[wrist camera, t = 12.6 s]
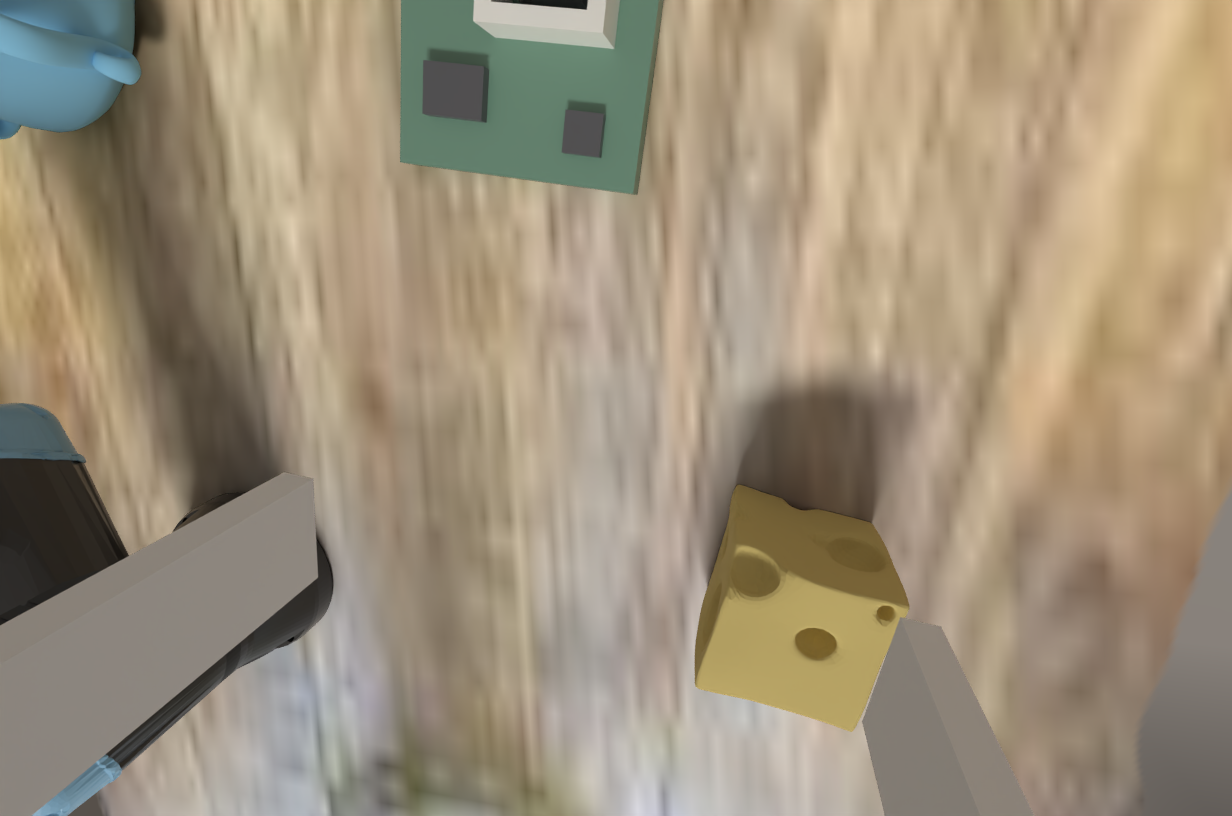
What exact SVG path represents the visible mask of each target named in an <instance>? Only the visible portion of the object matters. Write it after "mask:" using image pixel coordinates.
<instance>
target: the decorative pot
mask: <svg viewBox="0 0 1232 816" xmlns="http://www.w3.org/2000/svg"><path fill="white" fill-rule="evenodd" d="M134 4H135V0H0V139H7V138H10V137H12V136H13V135H15V134H16V133H17V132H18V130H19V129H20V127H21V125H23V126H26V127H30V128H35V129H41V130H47V131H53V132H68V131H75V130H78V129H80V128H83V127H85V126H87V125H89V124H91V123H92V122H94V121H96V120H97V119H98V118H100V117H101V116H102V115H103V114H104V113H106V112H107V111H108V110H109V108H110V107H111V106H112V104H113V103H114V102H115V100H116V98H117V96H118V94H119V93H120V91H121V88H122V86H123V84H124V83H125V84H129V85H132V84H135V83H136V82H137V81H138V80H139V78H140V76H141V68H140V65H139V62H138V61H137V59H136V58H135V56H133V55H132V53H133V47H134V35H135V9H134Z"/></svg>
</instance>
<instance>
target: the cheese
mask: <svg viewBox="0 0 1232 816" xmlns="http://www.w3.org/2000/svg"><path fill="white" fill-rule="evenodd" d="M908 610H909V603H908V599H907V596H906V593H905V590H904V588H903V585H902V583H901V581H900V579H899V576H898V574H897V572H896V570H895V568H894V565H893V563H892V560H891V558H890V555H889V553H888V550H887V548H886V546H885V544H884V542H883V541H882V539H881V537H880V535H879V534H878V532H877V530H876V529H875V527H874V525H873V524H872V523H870V522H867V521H863V520H859V519H856V518H852V517H848V516H844V515H840V514H836V513H832V512H828V511H823V510H819V509H813V510H806V511H804V510H799V509H796V508H793V507H791V506H790V505H788V504H787V503H786V501H785V500H783V499H782V498H779V497H776V496H773V495H770V494H766V493H763V492H760V491H758V490H755V489H752V488H749V487H746V486H743V485H739V484H738V485H737V486H736V488H735V489H734V492H733V495H732V498H731V503H730V512H729V519H728V523H727V527H726V530H725V533H724V537H723V540H722V543H721V547H720V550H719V553H718V557H717V560H716V563H715V566H714V570H713V573H712V576H711V579H710V582H709V585H708V588H707V591H706V594H705V597H704V600H703V604H702V608H701V613H700V619H699V625H698V631H697V637H696V645H695V686H696V687H697V688H698V689H701V690H706V691H710V692H714V693H718V694H723V695H728V696H733V697H738V698H742V699H747V700H751V701H755V702H758V703H762V704H765V705H769V706H772V707H776V708H779V709H783V710H786V711H790V712H793V713H796V714H800V715H803V716H806V717H809V718H812V719H816V720H819V721H822V722H825V723H828V724H831V725H834V726H836V727H839V728H842V729H844V730H847V731H850V732H852V731H853V730H854V729H855V727H856V725H857V723H858V721H859V719H860V717H861V715H862V713H863V711H864V708H865V706H866V703H867V701H868V698H869V695H870V693H871V690H872V687H873V685H874V682H875V679H876V677H877V674H878V672H879V669H880V667H881V664H882V662H883V659H884V657H885V655H886V653H887V651H888V649H889V647H890V644H891V641H892V639H893V636H894V633H895V630H896V627H897V625H898V622H899V619H900V617H902V618H905V617H906V615H907V613H908Z"/></svg>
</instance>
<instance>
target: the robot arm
mask: <svg viewBox="0 0 1232 816" xmlns="http://www.w3.org/2000/svg"><path fill="white" fill-rule="evenodd" d="M84 463H86V460H85V458H84V457H83V456H82V455H80V454H78V453H77V451H76V450H75V448H74V446H73V445H72V443H71V441H70V439H69V438H68V436H67V434H66V433H65V431H64V429H63V427H62V426H61V424H60V422H59V420H58V419H57V418H56V417H55V416H54V415H53V414H52V413H51V412H49V411H48V410H46V409H44V408H42V407H39V406H36V405H31V404H25V403H9V404H0V816H67V815H68V814H69V813H71V812H72V811H73V810H74V809H76V808H77V807H78V806H80V805H81V804H82V803H83V802H85V801H86V800H87V799H89V798H90V797H91V796H92V795H94V794H95V793H96V792H98V791H99V790H100V789H101V788H103V787H104V786H105V785H107V784H108V783H110V782H112V781H114V780H115V779H116V778H118V777H119V776H120V775H121V771H122V770H123V769H125V768H126V767H127V766H128V765H129V764H130V763H131V762H132V761H134V760H135V759H136V758H137V757H138V756H139V755H140V754H141V753H143V752H144V751H145V750H146V749H147V748H148V747H149V746H150V745H151V744H153V743H154V742H155V741H156V740H157V739H158V738H159V737H160V736H162V735H163V734H164V733H165V732H166V731H167V730H168V729H169V728H171V727H172V726H173V725H174V724H175V723H176V722H177V721H178V720H180V719H181V718H182V717H183V716H184V715H185V714H186V713H187V712H189V711H190V710H191V709H192V708H193V707H194V706H195V705H196V704H198V703H199V702H200V701H201V700H202V699H203V698H204V697H205V696H207V695H208V694H209V693H210V692H211V691H212V690H213V689H214V688H215V687H216V686H217V685H219V684H220V683H221V682H222V681H223V680H224V679H226V678H227V677H228V676H229V675H230V674H231V673H233V672H234V671H235V670H236V669H238V668H240V667H242V666H244V665H246V664H248V663H250V662H252V661H254V660H256V659H258V658H260V657H262V656H264V655H266V654H268V653H270V652H271V651H273V650H274V649H276V648H280V647H284V646H286V645H288V644H291V643H293V642H294V641H296V640H298V639H299V638H301V637H302V636H303V635H304V634H306V633H307V632H308V631H309V630H310V629H311V628H312V627H313V626H314V625H315V624H316V623H317V622H318V621H319V620H320V619H321V618H322V617H323V616H324V614H325V613H326V611H327V609H328V607H329V604H330V601H331V597H332V577H331V572H330V568H329V564H328V561H327V559H326V556H325V554H324V552H323V550H322V548H321V546H320V545H319V543H318V541H317V540H316V525H315V505H314V485H313V479H312V478H308V477H303V476H299V475H295V474H291V473H286V472H284V473H282V474H280V475H278V476H276V477H274V478H272V479H271V480H269V481H267V482H265V483H263V484H261V485H259V486H258V487H256V488H254V489H252V490H250V491H248V492H246V493H229V494H224V495H221V496H218V497H216V498H214V499H212V500H210V501H208V502H206V503H204V504H202V505H200V506H199V507H197V508H195V509H193V510H192V511H191V512H189V513H188V514H187V515H186V516H184V518H183V519H182V520H181V521H180V522H179V523H178V524H177V526H176V527H175V529H174V531H173V532H172V533H171V534H169V535H167V536H165V537H163V538H161V539H159V540H158V541H156V542H154V543H152V544H150V545H148V546H147V547H145V548H143V549H141V550H139V551H137V552H135V553H134V554H132V555H130V556H129V555H128V553H127V551H126V549H125V547H124V545H123V543H122V541H121V539H120V537H119V535H118V533H117V531H116V529H115V526H114V524H113V522H112V520H111V518H110V516H109V514H108V512H107V510H106V508H105V506H104V504H103V502H102V500H101V498H100V495H99V493H98V491H97V489H96V487H95V485H94V483H93V481H92V479H91V477H90V475H89V473H88V471H87V469H86V466H85V464H84ZM862 722H863V727H864V731H865V735H866V739H867V743H868V747H869V751H870V756H871V760H872V764H873V768H874V772H875V776H876V780H877V785H878V789H879V793H880V797H881V801H882V805H883V809H884V814H885V816H1034V814H1033V812H1032V810H1031V808H1030V806H1029V803H1028V801H1027V799H1026V797H1025V795H1024V793H1023V791H1022V789H1021V787H1020V785H1019V783H1018V781H1017V779H1016V777H1015V775H1014V773H1013V771H1012V769H1011V767H1010V765H1009V763H1008V761H1007V759H1006V757H1005V755H1004V753H1003V751H1002V749H1001V747H1000V745H999V743H998V741H997V739H996V737H995V735H994V733H993V731H992V729H991V727H990V725H989V723H988V721H987V719H986V717H985V714H984V712H983V710H982V708H981V706H980V704H979V702H978V700H977V698H976V696H975V694H974V692H973V690H972V688H971V686H970V684H969V682H968V680H967V678H966V676H965V674H964V672H963V670H962V668H961V666H960V664H959V662H958V660H957V658H956V656H955V654H954V652H953V650H952V648H951V646H950V644H949V642H948V640H947V638H946V636H945V634H944V632H943V630H942V628H941V627H940V626H936V625H932V624H928V623H923V622H919V621H915V620H911V619H906V618H902V617H900V619H899V622H898V625H897V627H896V630H895V633H894V636H893V639H892V641H891V644H890V647H889V650H888V652H887V655H886V658H885V661H884V663H883V666H882V669H881V672H880V674H879V677H878V680H877V683H876V685H875V688H874V691H873V694H872V696H871V699H870V702H869V705H868V707H867V710H866V713H865V716H864V718H863V721H862Z"/></svg>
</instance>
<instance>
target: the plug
mask: <svg viewBox="0 0 1232 816" xmlns="http://www.w3.org/2000/svg"><path fill="white" fill-rule="evenodd" d="M518 1H519V2H520V3H521V4H525V5H537V6H548V7H560V8H572V9H583V10H587V5H588V0H518Z"/></svg>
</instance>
